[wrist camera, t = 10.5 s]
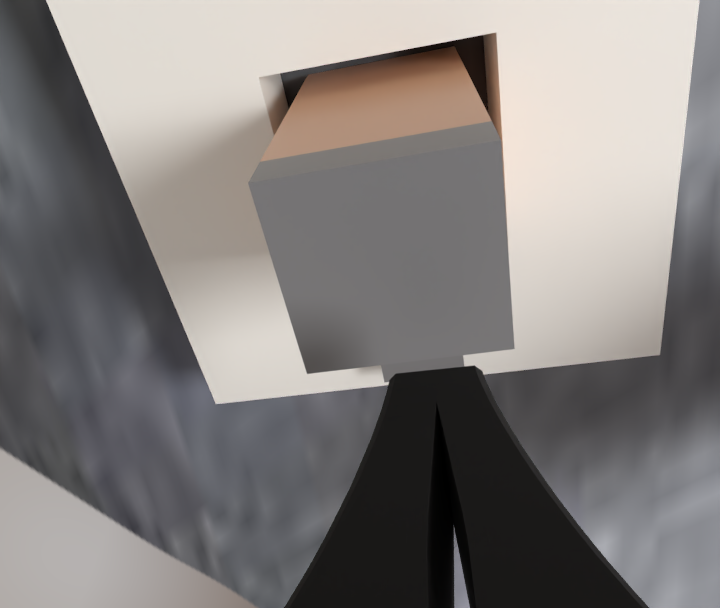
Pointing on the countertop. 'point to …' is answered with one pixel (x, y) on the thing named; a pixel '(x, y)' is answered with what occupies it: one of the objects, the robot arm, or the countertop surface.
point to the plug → (388, 215)
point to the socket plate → (505, 107)
